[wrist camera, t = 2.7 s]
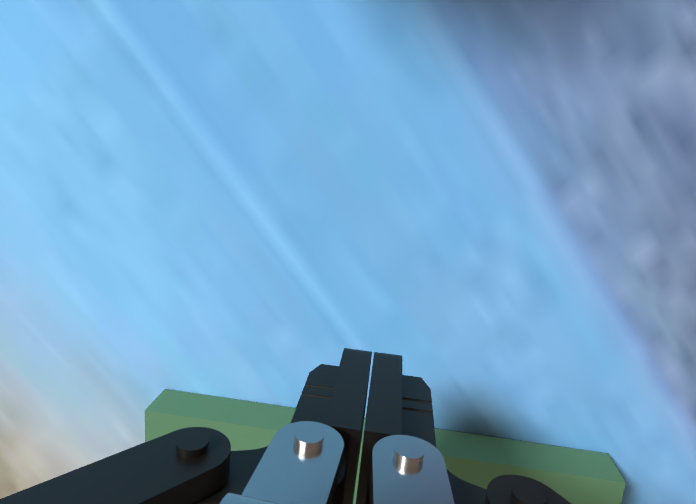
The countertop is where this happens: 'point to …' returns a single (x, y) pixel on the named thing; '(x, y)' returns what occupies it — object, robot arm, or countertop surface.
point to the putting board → (456, 447)
